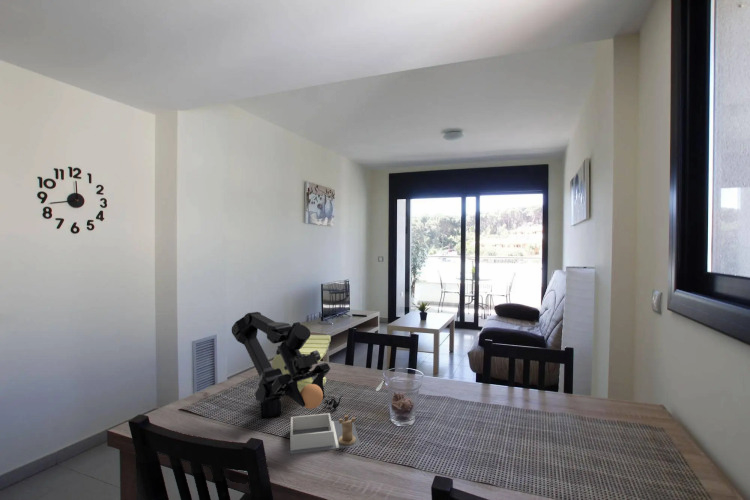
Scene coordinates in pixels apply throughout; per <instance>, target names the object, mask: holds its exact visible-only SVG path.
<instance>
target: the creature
mask: <svg viewBox="0 0 750 500" xmlns="http://www.w3.org/2000/svg"><path fill="white" fill-rule="evenodd" d="M327 396H328V398H329V399H328V400H327V399H326V400H325V401H324V402H323V403H322V404H321V405H323V404H324V405H325V406H324V407H323V408H321V411H322V410H325V409H326V408H327V407H329V406H331V408H330V410H332V409H337V408H338V407H339V405H340V402H341V399H342V397H344V395H343V394H342V395H341V396H340V397H339V398H338V402H337V401H336V398H335V397H334V396H333V398H330V396H329V395H327Z"/></svg>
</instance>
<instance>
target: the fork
mask: <svg viewBox="0 0 750 500" xmlns="http://www.w3.org/2000/svg"><path fill="white" fill-rule="evenodd" d="M384 382H385V381H383V380H382V381H381V383H379V385H378V386H377V387H376V389H375V391H376V392H378V391H380V390H381V388H382V386H383V385H384Z"/></svg>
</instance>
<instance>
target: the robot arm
mask: <svg viewBox="0 0 750 500" xmlns="http://www.w3.org/2000/svg"><path fill="white" fill-rule="evenodd" d="M259 331H261V332H263V333H264V334H265V335H266V339H267V340H268V341H270V342H271V344H279V343H280V345H278V346H277V349H276V351H275V352H276V355H278V354H281V356H282V359H283V361H284V363H285V367H284V369H285V370H288V371H289V373H290V374H285V375H283V374H282V372H281V370H280V369H279V368H277V369H273V365H272V364H271V363H270V361H269V358H268V356H267V354H266V353H265V351H264V349H263V347H262V345H261V343H260V341H259V339H258V337H257V336H258V332H259ZM231 334H232V336H233V337H234V338H235V340H236V341H237V343H238V342H239V343H241V344H242V345H243V346H244V348H245V350H246V351H247V354H248V355H249V357H250V359H251V361H252V363H253V366H254V367H255V369H256V372H257V374H258V376H259V380H258V388H257V389H256V391H255V393H254V395H255V400H256V401H258V402H260V416H259V419H260V420H265V419H278V418H280V417H281V415H282V411H283V410H282V409H283V406H282V405H283V402H282V399H281V397H284V396H287V397H288V398H290V399H291V400H293V401H294V402H295V403H297V404H298V405H300V406H301V407H302V408H305V407H304V406H305V403H304V400H303V398H302V396H301V394H300V391H299V389H298V386H297V382H299V381H302V380H305V379H308V378H312V380H313V382H312V383H311V384H315V385H318V386H319V387H320V388H321V390H322V392H323V399H322V400H324V399H325V398H326V397H325V395H326V394H325V390H324V389H325V388H324V385H323V378H324V377H326V375H327V374H328V373H329V372H330V371H331V367H330V364H329V363H327V362H324V363H320V364H318V363H319V362H320V361H321V360H322V359H321V357H320V354H319V352H318V351H317V350H316V351H313V352H311V353H310V355H307V356H305V355H304V354H302V355H301V353H300V351H299V349H301V348H302V347H303V345H304V344H305V343H306V341H307V340H308V339H309V337H310V335H311V330H310V328H308V327H307V326H305V325H303V324H301V323H300V321H297V322H293V324H292V325H291V324H289V323H286V322H281V321H279V322H278V321H274V320H273V319H270V318H269V317H267V316H265V315H263V314H262V313H261V312H258V311H252V312H247V313H246V314H245V315H244V316H242V317H241V318H239V319H238V320H236V321H235V322H234V324H233V325H232V326H231ZM320 359H321V360H320ZM319 360H320V361H319ZM317 361H319V362H317ZM314 365H316V366H315V367H314V368H313V366H314ZM312 368H313V370H312Z"/></svg>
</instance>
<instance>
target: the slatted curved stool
mask: <svg viewBox="0 0 750 500" xmlns="http://www.w3.org/2000/svg"><path fill="white" fill-rule="evenodd" d="M331 338H332V337H331V335H330V334H329V335H327V334H325V335H323V334H310V337H309V339H308V340H307V341H306V343H305V344H304V345H303V347H302V348H301V349H299V351H300V353H301V355H302V354H304V355H305V356H307V355H310V353H311V352H313V351H316V350H317V351H318V352H319V354H320V357H321V359H320V360H319V361H317V362H318V363H320V361H321V360H322V359H323V358H324V356H325V355H326V354H327V350H328V349H329V348H328V347H329V346H330V343H331ZM284 367H285V363H284V361H283V359H282V356H281V354H278V355H277V354H276V355H275V356H274V357H273V358H272V368H273V369H277V368H279V369H280V370H281V372H282V374H283V375H285V374H290V373H289V371H288V370H285V369H284ZM312 382H313V380H312V378H308V379H305V380H302V381H299V382H297V386H298V389H299V391H300V392H301V390H302V389H303V388H304V387H305V386H306V385H308V384H311V383H312ZM326 382H327V377H326V376H324V378H323V386H325V384H326Z"/></svg>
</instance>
